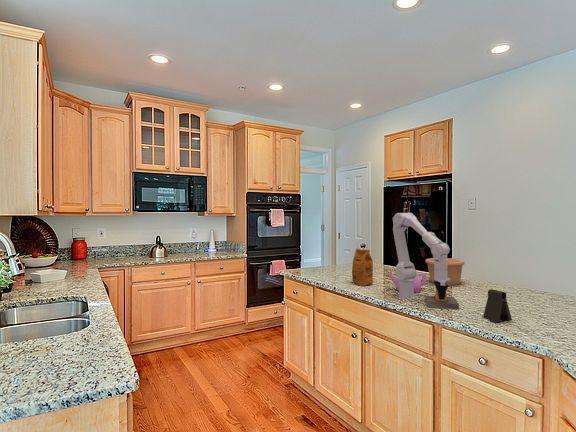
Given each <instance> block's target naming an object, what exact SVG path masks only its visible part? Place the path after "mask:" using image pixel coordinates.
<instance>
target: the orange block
mask: <svg viewBox="0 0 576 432" xmlns="http://www.w3.org/2000/svg"><path fill="white" fill-rule="evenodd" d="M434 292H435V293H434V296H435V301H447V297H448V293H447V292H446V294H445V298H444V299H439V296H438V291H437V290H434Z"/></svg>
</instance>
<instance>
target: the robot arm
mask: <svg viewBox="0 0 576 432" xmlns="http://www.w3.org/2000/svg"><path fill="white" fill-rule="evenodd" d="M392 222H393V225H392V226H393V227H392V232H393V236H394V237H393V239H394V243H395V248H396V255H397V261H398V263H397V265H395V277H396V278H397V279H398V281H399V291H398V294H397V296H398V299H407V300H409V299H410V300H416V298H415V293H414V278H415V277H416V275H417V272H418V271H417V269H416V268H415V264H414V263H413V262H411V261H410V260H411V259H410V254H409V250H408V249H409V248H408V246H407V240H406V234H405V231H406V229H407V228H409V227H410V228H412V229H413V230H414V231H415V232H416V233H418V234H419V236H421V237H422V238H421V239H422V241H423V242H424V243H425V245H427V246H428V247H429V248H430V252H431V255H432V258H434V280H435V281H434V284H435V285H434V284H433V285H434V286H435V289H436V290H435V291H438V296H439V299H444V298H445V294H446V293H447V290H448V288H449V287H450V286H449V285H446V283H447V282H446V281H448V280H450V278H447V258H448V254H449V253H450V251H451V249H450V246H449V244H447V243H446V242H443V241H442V240H441V239H439V238H438V237H437V236H436V234H435V232H432V231H427V229H426V228H425V227H424V226H423V225H422V224H421V222H420V221H419V220H418V218H417V216H415V215H414V214H413V213H412V212H397V213H395V214H394V216H393V217H392ZM416 271H417V272H416Z"/></svg>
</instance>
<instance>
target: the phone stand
mask: <svg viewBox="0 0 576 432" xmlns="http://www.w3.org/2000/svg"><path fill="white" fill-rule="evenodd" d="M482 319H485V320H486V321H487V320H488V321H487V322H491V323H493V324H500V322H502V323H506V322H505V321H507V322H511V321H510V320H512V321H513V319H512V315H511V311H510V308H509V304H508V300H507V293H506V292H505V291H501V290H497V289H493V288H489V289H488V290H487V299H486V304H485V308H484V312H483V315H482Z"/></svg>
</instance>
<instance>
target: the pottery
mask: <svg viewBox="0 0 576 432" xmlns="http://www.w3.org/2000/svg"><path fill="white" fill-rule="evenodd" d="M425 264H427V268H428V274H429V280H430V281H429V282H430V284H433V285H434V286H435V284H434V281H435V280H434V258H433V257H430V258H426V259H425ZM463 265H465V260H463V259H459V258H452V257H449V258H448V257H447V278H450V280H448V281H446V282H447V283H446V285H449V286H448V287H457V286H460V284H461V277H462V273H463Z"/></svg>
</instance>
